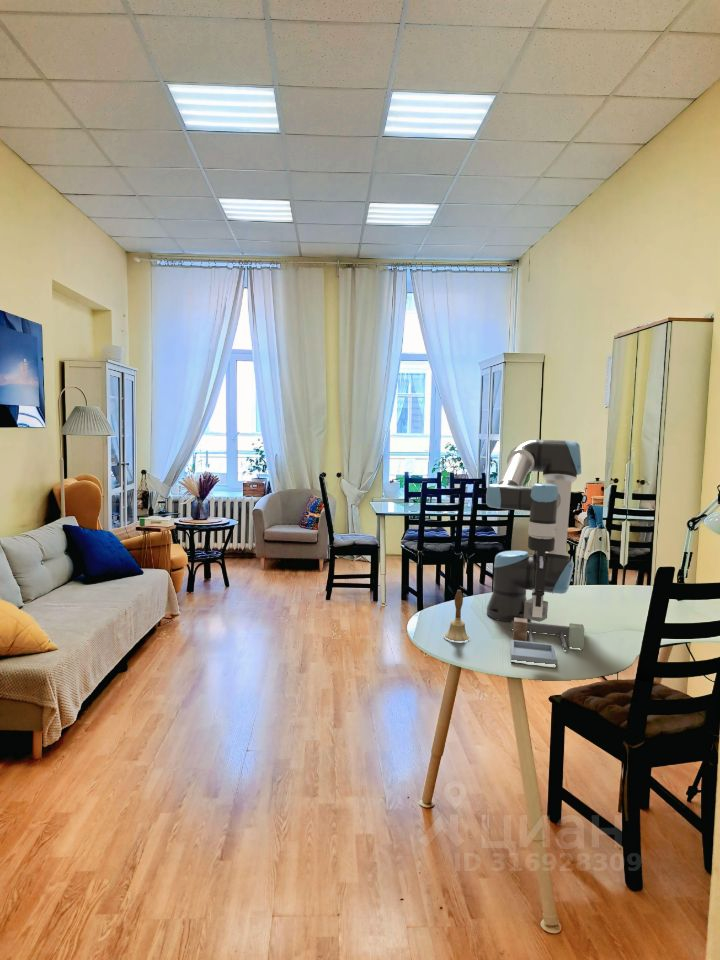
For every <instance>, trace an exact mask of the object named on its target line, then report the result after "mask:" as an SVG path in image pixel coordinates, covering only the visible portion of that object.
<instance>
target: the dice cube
mask: <svg viewBox="0 0 720 960" xmlns="http://www.w3.org/2000/svg"><path fill="white" fill-rule="evenodd" d="M548 610H549V601H547V600H546V601H545V600H543V610H542V618H539V617H532V612H533V598H532V597H531V598H530V599H529V598H528V599H527V601H525V606H524V618H526V619H528V620H531V621H534V622H535V621H536V622H537V623H538V622H539V623H540V622H542V621H545V620H546V619H548Z"/></svg>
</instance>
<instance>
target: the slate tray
mask: <svg viewBox="0 0 720 960" xmlns="http://www.w3.org/2000/svg"><path fill="white" fill-rule="evenodd" d="M511 660H517V661H526V662H534V663H545V664H555V665H556V666H557V662H558V660H557V655H556V649H555V646H554V644H553V643H552V644H551V643H544V642H543V643H542V642H534V641H533V642H529V641H527V640H526V641H517V640H513V639H511V640H510V661H511Z"/></svg>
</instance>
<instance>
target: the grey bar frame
mask: <svg viewBox="0 0 720 960" xmlns="http://www.w3.org/2000/svg"><path fill="white" fill-rule="evenodd" d="M510 624H511V625H510V630H511V629H514V621H512V622H510ZM527 631H529V633H528V640H530V642H534V641H533V633H532V632H536V633H535V634H537V633H547V634H555V635H554V636H556V635H560V636H559V638H560V637H561V639H560V642H561V641H562V643H561V645H562V644H563V647H562V649H563V648H564V650H567V651H568V647H567V646H568V645H567V643H566V639H565V638H566V637H565V636H564V635H566V636H569V626H567V625H559V624H558V625H557V624H547V623H540V622H539V623H538V622H530V621H529V622H528V621H527Z"/></svg>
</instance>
